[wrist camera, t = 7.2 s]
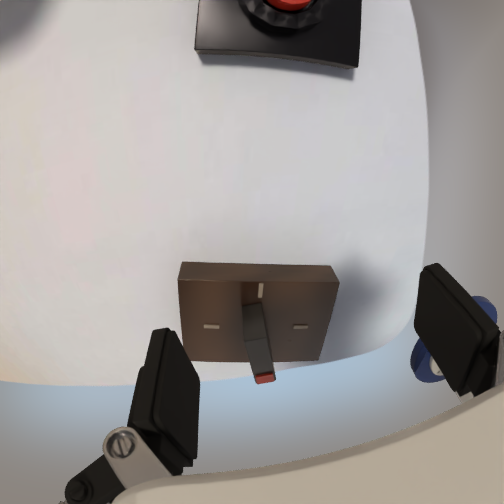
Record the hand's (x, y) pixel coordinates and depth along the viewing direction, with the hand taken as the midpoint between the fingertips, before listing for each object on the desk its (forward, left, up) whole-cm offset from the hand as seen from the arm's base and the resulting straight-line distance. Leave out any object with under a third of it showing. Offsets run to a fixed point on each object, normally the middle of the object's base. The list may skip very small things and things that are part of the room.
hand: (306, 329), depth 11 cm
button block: (0, -16, -17) cm, 23 cm away
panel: (0, +12, -17) cm, 20 cm away
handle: (0, +12, -14) cm, 18 cm away
